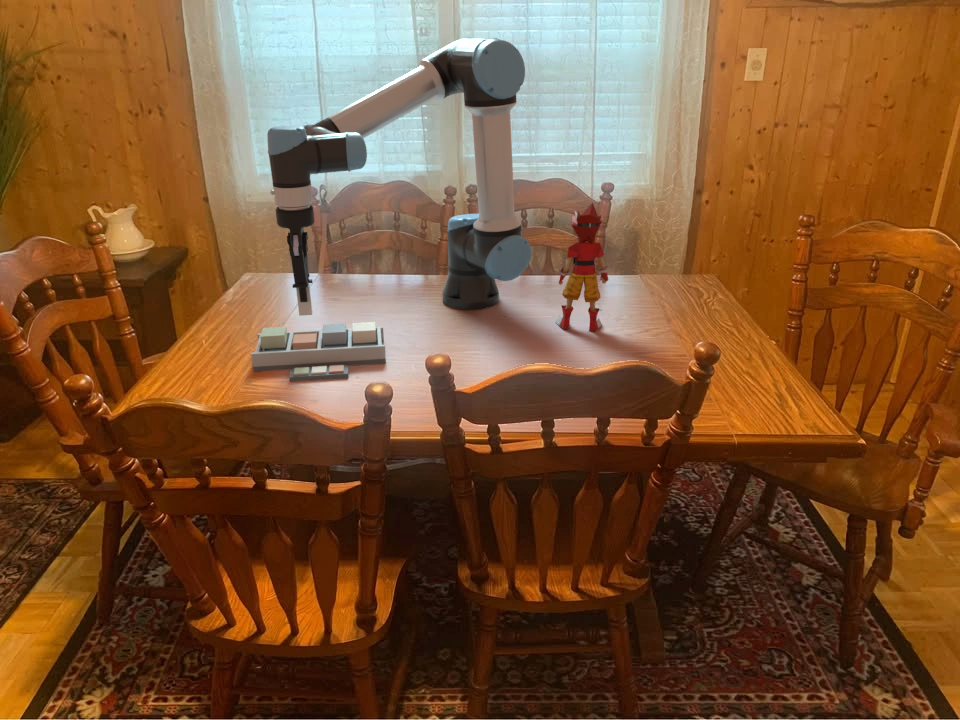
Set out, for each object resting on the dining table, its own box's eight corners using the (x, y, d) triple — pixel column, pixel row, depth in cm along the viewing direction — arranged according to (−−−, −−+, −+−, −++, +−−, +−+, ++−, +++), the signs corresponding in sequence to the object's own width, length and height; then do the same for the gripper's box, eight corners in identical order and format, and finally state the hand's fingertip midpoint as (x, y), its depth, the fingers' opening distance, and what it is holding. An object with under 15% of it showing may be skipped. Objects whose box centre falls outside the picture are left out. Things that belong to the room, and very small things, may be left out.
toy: (599, 318, 185) (608, 199, 173) (608, 332, 177) (618, 208, 164) (552, 319, 184) (558, 200, 172) (559, 333, 176) (565, 209, 164)
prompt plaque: (348, 369, 158) (348, 363, 157) (348, 377, 154) (347, 371, 153) (291, 372, 156) (290, 366, 155) (289, 381, 152) (289, 375, 151)
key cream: (375, 333, 166) (375, 321, 165) (376, 341, 162) (375, 330, 161) (353, 334, 166) (352, 323, 164) (353, 343, 161) (352, 331, 160)
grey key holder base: (383, 341, 171) (382, 326, 170) (385, 363, 160) (384, 346, 159) (260, 349, 167) (258, 332, 166) (253, 371, 157) (251, 354, 155)
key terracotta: (318, 344, 165) (316, 333, 164) (317, 353, 161) (315, 341, 160) (295, 346, 165) (294, 334, 163) (293, 355, 160) (292, 343, 159)
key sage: (287, 338, 164) (286, 326, 162) (285, 347, 159) (284, 335, 158) (264, 339, 163) (262, 327, 162) (261, 348, 158) (260, 336, 157)
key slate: (346, 335, 165) (345, 323, 164) (346, 343, 161) (345, 331, 160) (324, 336, 165) (323, 324, 164) (323, 345, 160) (322, 333, 159)
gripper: (278, 199, 155) (290, 304, 165) (271, 214, 143) (285, 326, 153) (314, 198, 156) (324, 302, 166) (311, 212, 144) (322, 324, 154)
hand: (305, 314), depth 159 cm, fingers closed
